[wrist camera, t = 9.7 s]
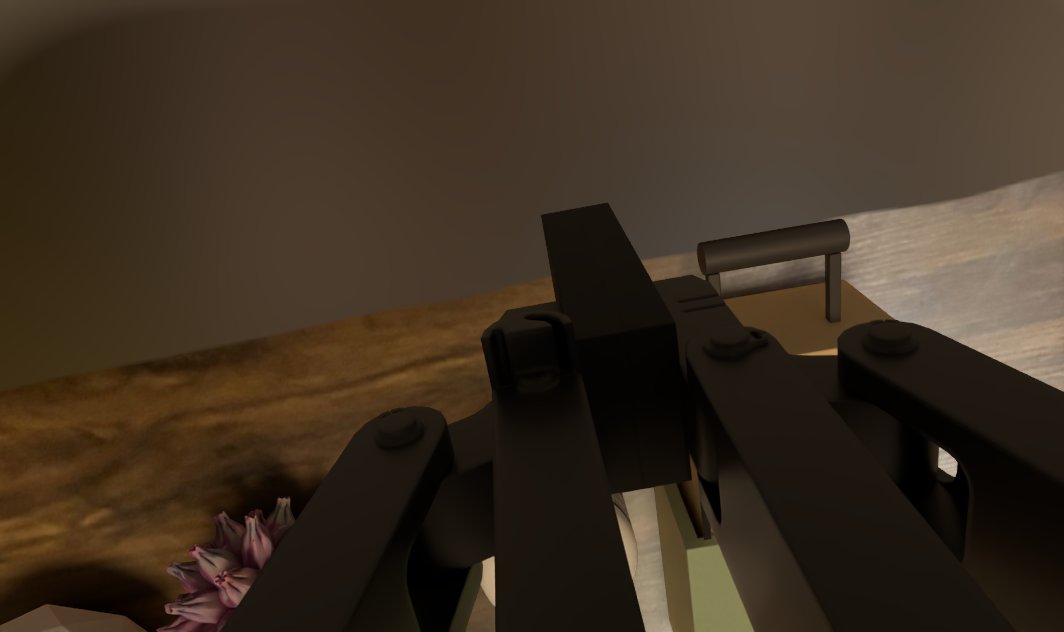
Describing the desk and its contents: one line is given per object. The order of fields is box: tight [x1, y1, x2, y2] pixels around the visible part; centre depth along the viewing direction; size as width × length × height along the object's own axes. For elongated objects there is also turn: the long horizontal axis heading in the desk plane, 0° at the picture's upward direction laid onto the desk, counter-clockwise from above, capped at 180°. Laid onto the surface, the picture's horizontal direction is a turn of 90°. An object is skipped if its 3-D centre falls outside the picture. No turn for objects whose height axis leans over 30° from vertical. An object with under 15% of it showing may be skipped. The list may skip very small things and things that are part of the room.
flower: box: [157, 496, 296, 632], centre depth 44 cm, size 12×12×12 cm
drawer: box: [677, 219, 895, 538], centre depth 41 cm, size 19×11×8 cm, turn 9°
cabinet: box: [654, 483, 754, 632], centre depth 46 cm, size 15×13×10 cm
